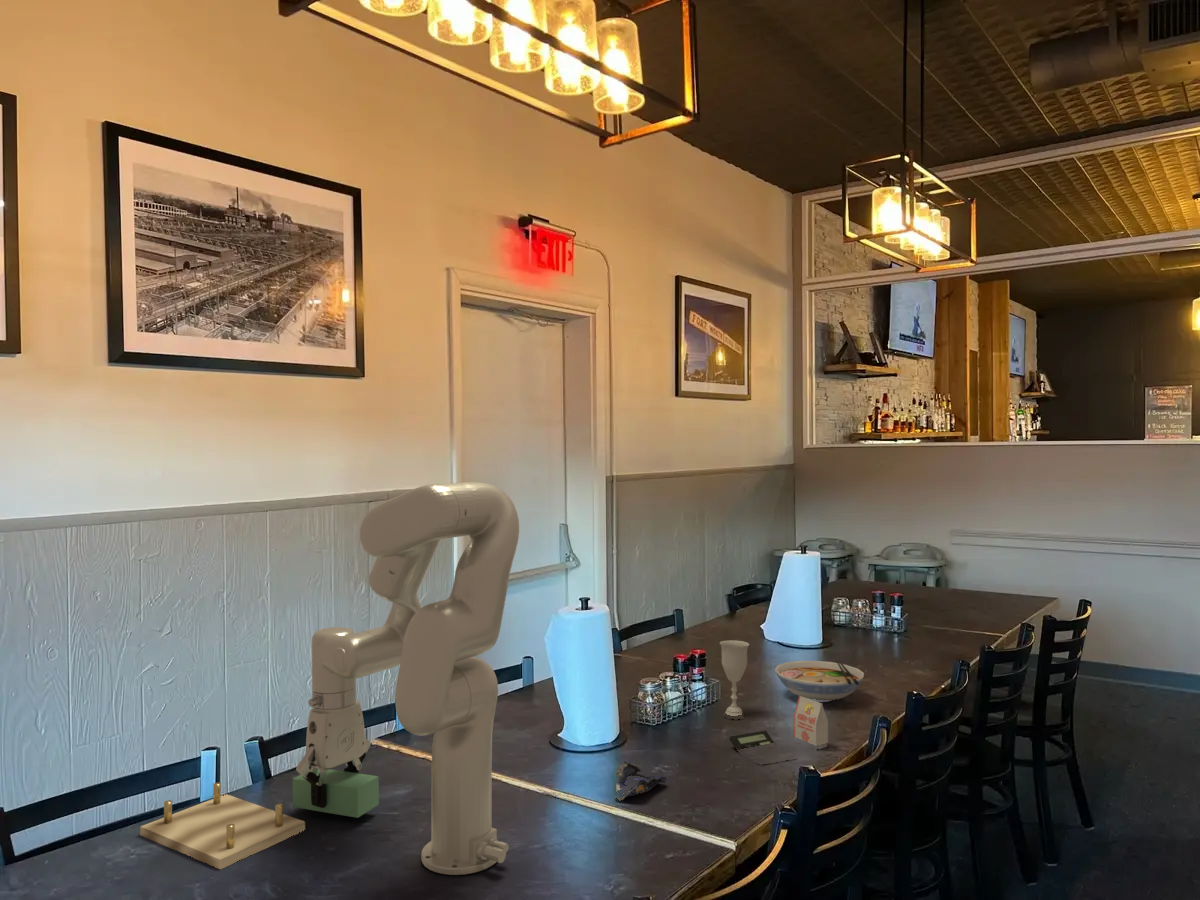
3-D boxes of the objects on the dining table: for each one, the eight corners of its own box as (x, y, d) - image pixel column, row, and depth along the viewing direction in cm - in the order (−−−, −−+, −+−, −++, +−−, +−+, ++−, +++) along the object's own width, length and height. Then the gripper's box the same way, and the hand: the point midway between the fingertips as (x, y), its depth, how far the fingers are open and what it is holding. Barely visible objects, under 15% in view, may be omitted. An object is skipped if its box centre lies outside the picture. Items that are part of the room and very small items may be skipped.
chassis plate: (305, 830, 145) (305, 801, 145) (220, 869, 132) (220, 837, 132) (225, 802, 157) (225, 775, 157) (140, 835, 143) (140, 805, 143)
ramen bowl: (771, 684, 237) (771, 655, 237) (856, 687, 234) (856, 658, 234) (778, 711, 212) (778, 679, 212) (872, 715, 209) (872, 682, 209)
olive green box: (378, 804, 152) (378, 776, 152) (357, 817, 146) (357, 788, 146) (315, 794, 157) (315, 767, 157) (292, 806, 151) (292, 778, 151)
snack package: (592, 788, 165) (625, 808, 155) (596, 754, 166) (630, 772, 156) (642, 786, 171) (677, 806, 161) (646, 754, 172) (681, 771, 162)
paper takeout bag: (805, 738, 192) (805, 694, 192) (827, 747, 187) (828, 702, 187) (793, 741, 190) (793, 697, 190) (815, 750, 185) (815, 704, 185)
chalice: (753, 715, 209) (753, 642, 209) (742, 723, 203) (742, 648, 203) (725, 710, 213) (726, 639, 213) (714, 718, 207) (714, 644, 207)
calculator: (760, 767, 176) (760, 752, 176) (729, 749, 186) (729, 735, 186) (797, 760, 180) (797, 746, 180) (764, 743, 190) (764, 729, 190)
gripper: (308, 714, 142) (309, 821, 142) (385, 689, 157) (386, 786, 157) (279, 707, 146) (280, 812, 146) (357, 684, 161) (358, 778, 161)
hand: (335, 797), depth 152 cm, fingers closed on olive green box, 6 cm apart
